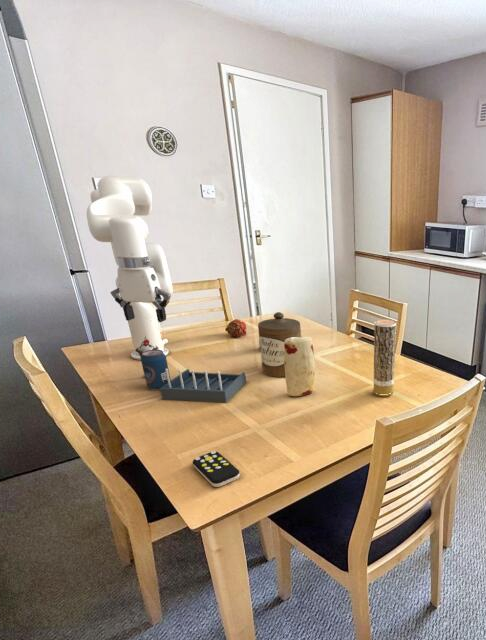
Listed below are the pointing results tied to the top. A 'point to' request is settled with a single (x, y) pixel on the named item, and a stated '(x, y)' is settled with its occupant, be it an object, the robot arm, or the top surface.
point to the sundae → (146, 347)
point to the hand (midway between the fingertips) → (146, 320)
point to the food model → (299, 365)
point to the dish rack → (202, 386)
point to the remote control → (216, 469)
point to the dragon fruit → (236, 328)
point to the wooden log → (384, 357)
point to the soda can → (155, 368)
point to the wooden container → (276, 342)
